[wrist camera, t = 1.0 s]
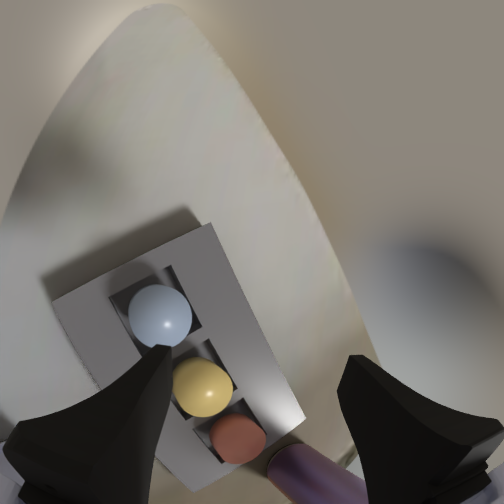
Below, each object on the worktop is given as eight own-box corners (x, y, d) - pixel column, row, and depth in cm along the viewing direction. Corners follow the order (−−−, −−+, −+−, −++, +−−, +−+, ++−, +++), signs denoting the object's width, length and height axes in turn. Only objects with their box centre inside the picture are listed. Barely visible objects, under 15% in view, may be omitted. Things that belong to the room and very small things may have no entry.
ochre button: (187, 413, 19) (195, 426, 17) (160, 373, 18) (165, 384, 16) (230, 387, 21) (242, 397, 19) (206, 347, 20) (216, 354, 18)
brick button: (223, 458, 20) (233, 471, 18) (200, 430, 19) (209, 443, 17) (260, 434, 22) (273, 445, 20) (241, 404, 21) (253, 415, 19)
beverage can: (262, 452, 24) (367, 535, 10) (310, 433, 26) (419, 492, 13) (265, 488, 23) (354, 565, 10) (309, 469, 26) (402, 528, 13)
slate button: (145, 351, 18) (149, 359, 16) (117, 300, 18) (117, 304, 16) (193, 324, 20) (202, 329, 18) (168, 274, 19) (174, 274, 17)
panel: (187, 480, 20) (193, 492, 18) (56, 299, 17) (50, 302, 15) (294, 411, 26) (306, 418, 24) (202, 226, 23) (210, 222, 21)
